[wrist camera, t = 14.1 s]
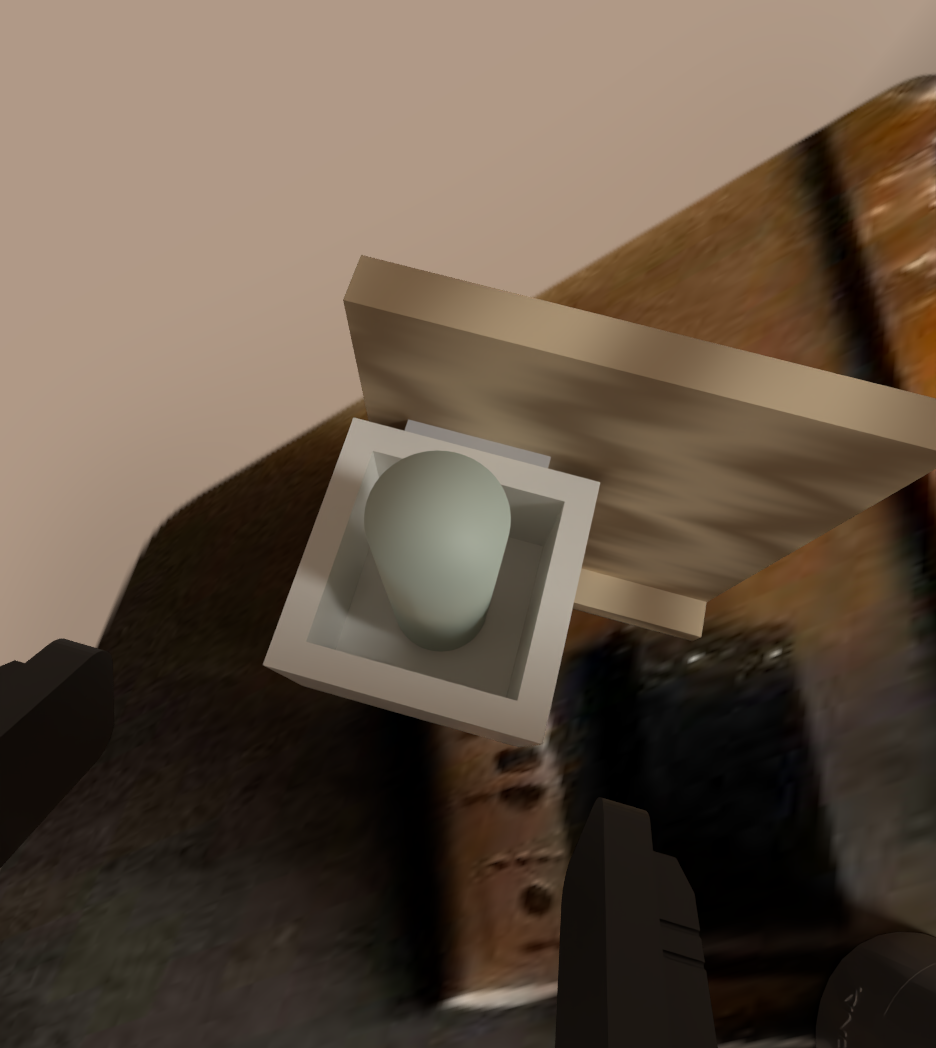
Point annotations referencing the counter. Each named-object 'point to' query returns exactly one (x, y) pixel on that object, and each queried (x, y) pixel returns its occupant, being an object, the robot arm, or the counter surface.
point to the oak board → (640, 431)
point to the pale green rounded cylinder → (438, 544)
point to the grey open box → (369, 621)
